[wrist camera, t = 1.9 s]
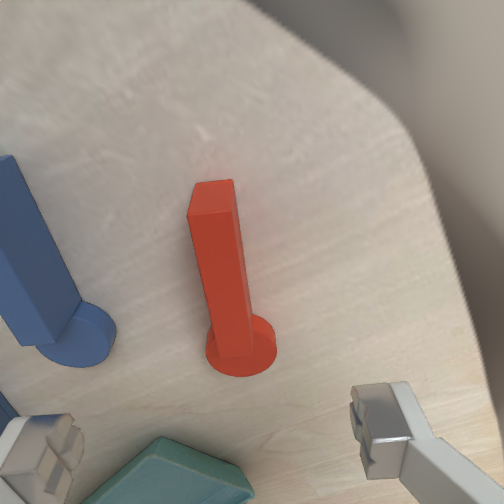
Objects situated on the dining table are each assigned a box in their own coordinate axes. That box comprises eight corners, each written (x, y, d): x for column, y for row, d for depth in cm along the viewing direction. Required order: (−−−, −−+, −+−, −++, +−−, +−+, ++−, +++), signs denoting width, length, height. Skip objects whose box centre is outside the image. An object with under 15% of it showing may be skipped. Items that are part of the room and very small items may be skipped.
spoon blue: (-54, 162, 14) (-118, 191, 11) (40, 151, 14) (-5, 178, 11) (59, 354, 20) (34, 401, 18) (125, 347, 20) (108, 394, 17)
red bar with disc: (169, 185, 15) (154, 218, 12) (259, 175, 15) (263, 205, 12) (213, 363, 21) (209, 409, 18) (277, 357, 21) (282, 403, 18)
